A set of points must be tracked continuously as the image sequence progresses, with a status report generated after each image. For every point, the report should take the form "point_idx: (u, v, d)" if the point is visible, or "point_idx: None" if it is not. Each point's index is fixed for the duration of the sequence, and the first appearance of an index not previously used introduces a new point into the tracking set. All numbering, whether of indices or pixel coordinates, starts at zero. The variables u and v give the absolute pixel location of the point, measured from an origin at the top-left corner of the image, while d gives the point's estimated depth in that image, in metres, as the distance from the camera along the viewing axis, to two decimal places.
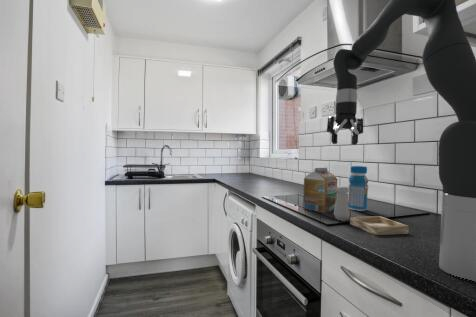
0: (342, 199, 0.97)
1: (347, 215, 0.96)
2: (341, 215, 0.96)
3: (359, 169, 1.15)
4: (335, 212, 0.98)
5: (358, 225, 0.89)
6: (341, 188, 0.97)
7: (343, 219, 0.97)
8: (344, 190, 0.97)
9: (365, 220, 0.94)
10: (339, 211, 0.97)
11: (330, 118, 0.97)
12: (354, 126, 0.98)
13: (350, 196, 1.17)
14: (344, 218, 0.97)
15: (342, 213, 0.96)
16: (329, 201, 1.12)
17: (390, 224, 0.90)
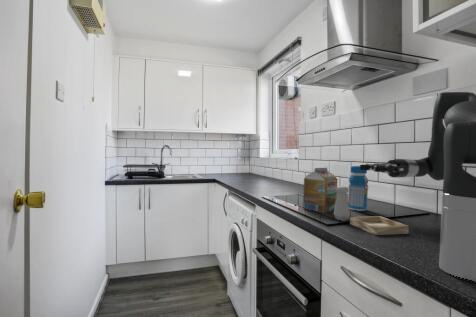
0: (342, 198, 0.97)
1: (347, 215, 0.96)
2: (341, 215, 0.96)
3: (359, 169, 1.15)
4: (335, 212, 0.98)
5: (358, 225, 0.89)
6: (341, 188, 0.97)
7: (343, 219, 0.97)
8: (344, 189, 0.97)
9: (365, 220, 0.94)
10: (339, 211, 0.97)
11: None
12: (388, 164, 0.99)
13: (350, 196, 1.17)
14: (344, 218, 0.97)
15: (342, 213, 0.96)
16: (329, 201, 1.12)
17: (390, 224, 0.90)
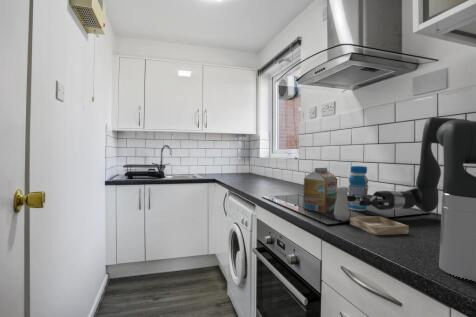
0: (342, 198, 0.97)
1: (347, 215, 0.96)
2: (341, 215, 0.96)
3: (359, 169, 1.15)
4: (335, 212, 0.98)
5: (358, 225, 0.89)
6: (341, 188, 0.97)
7: (343, 219, 0.97)
8: (344, 189, 0.97)
9: (365, 220, 0.94)
10: (339, 211, 0.97)
11: None
12: (373, 197, 0.98)
13: None
14: (344, 218, 0.97)
15: (342, 213, 0.96)
16: (329, 201, 1.12)
17: (390, 224, 0.90)
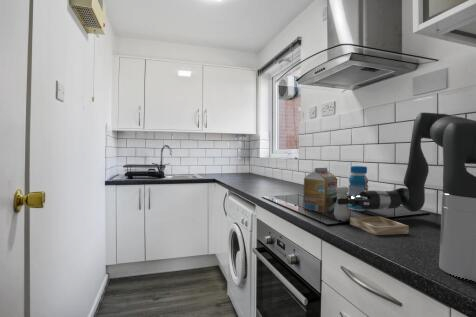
0: None
1: (347, 215, 0.96)
2: (341, 215, 0.96)
3: (359, 169, 1.15)
4: (335, 212, 0.98)
5: (358, 225, 0.89)
6: (341, 188, 0.97)
7: (343, 219, 0.97)
8: (344, 189, 0.97)
9: (365, 220, 0.94)
10: (339, 211, 0.97)
11: None
12: (355, 196, 0.98)
13: None
14: (344, 218, 0.97)
15: (342, 213, 0.96)
16: (329, 201, 1.12)
17: (390, 224, 0.90)
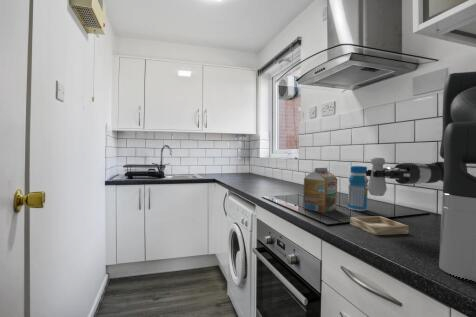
0: None
1: (384, 189, 0.86)
2: (377, 190, 0.86)
3: (359, 169, 1.15)
4: (370, 186, 0.88)
5: (358, 225, 0.89)
6: (377, 159, 0.87)
7: (380, 194, 0.86)
8: (381, 160, 0.86)
9: (365, 220, 0.94)
10: (375, 185, 0.86)
11: None
12: (392, 168, 0.88)
13: (350, 196, 1.17)
14: (381, 192, 0.86)
15: (378, 187, 0.86)
16: (329, 201, 1.12)
17: (390, 224, 0.90)
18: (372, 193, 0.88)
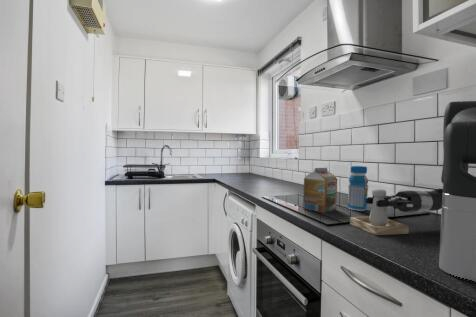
0: None
1: (385, 222, 0.86)
2: (378, 222, 0.86)
3: (359, 169, 1.15)
4: (371, 218, 0.88)
5: (358, 225, 0.89)
6: (378, 191, 0.87)
7: None
8: (382, 193, 0.86)
9: (365, 220, 0.94)
10: (376, 217, 0.86)
11: None
12: (395, 197, 0.87)
13: (350, 196, 1.17)
14: (382, 225, 0.86)
15: (380, 220, 0.86)
16: (329, 201, 1.12)
17: (390, 224, 0.90)
18: (373, 225, 0.88)
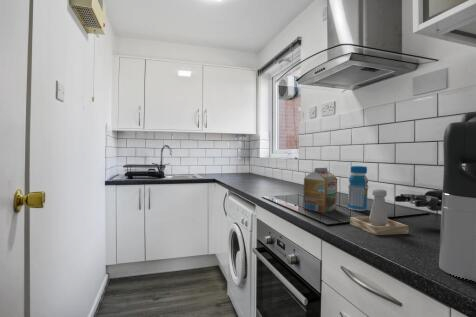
0: (379, 203, 0.87)
1: (386, 222, 0.86)
2: (378, 222, 0.86)
3: (359, 169, 1.15)
4: (371, 218, 0.88)
5: (358, 225, 0.89)
6: (379, 191, 0.87)
7: None
8: (382, 193, 0.86)
9: (365, 220, 0.94)
10: (376, 217, 0.86)
11: None
12: (429, 197, 0.89)
13: (350, 196, 1.17)
14: (382, 225, 0.86)
15: (380, 220, 0.86)
16: (329, 201, 1.12)
17: (390, 224, 0.90)
18: (373, 225, 0.88)
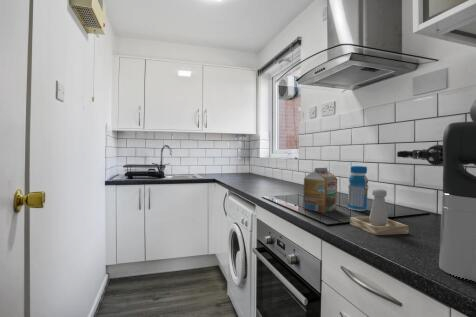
0: (379, 203, 0.87)
1: (386, 222, 0.86)
2: (378, 222, 0.86)
3: (359, 169, 1.15)
4: (371, 218, 0.88)
5: (358, 225, 0.89)
6: (378, 191, 0.87)
7: None
8: (382, 193, 0.86)
9: (365, 220, 0.94)
10: (376, 217, 0.86)
11: None
12: (431, 150, 0.89)
13: (350, 196, 1.17)
14: (382, 225, 0.86)
15: (380, 220, 0.86)
16: (329, 201, 1.12)
17: (390, 224, 0.90)
18: (373, 225, 0.88)
